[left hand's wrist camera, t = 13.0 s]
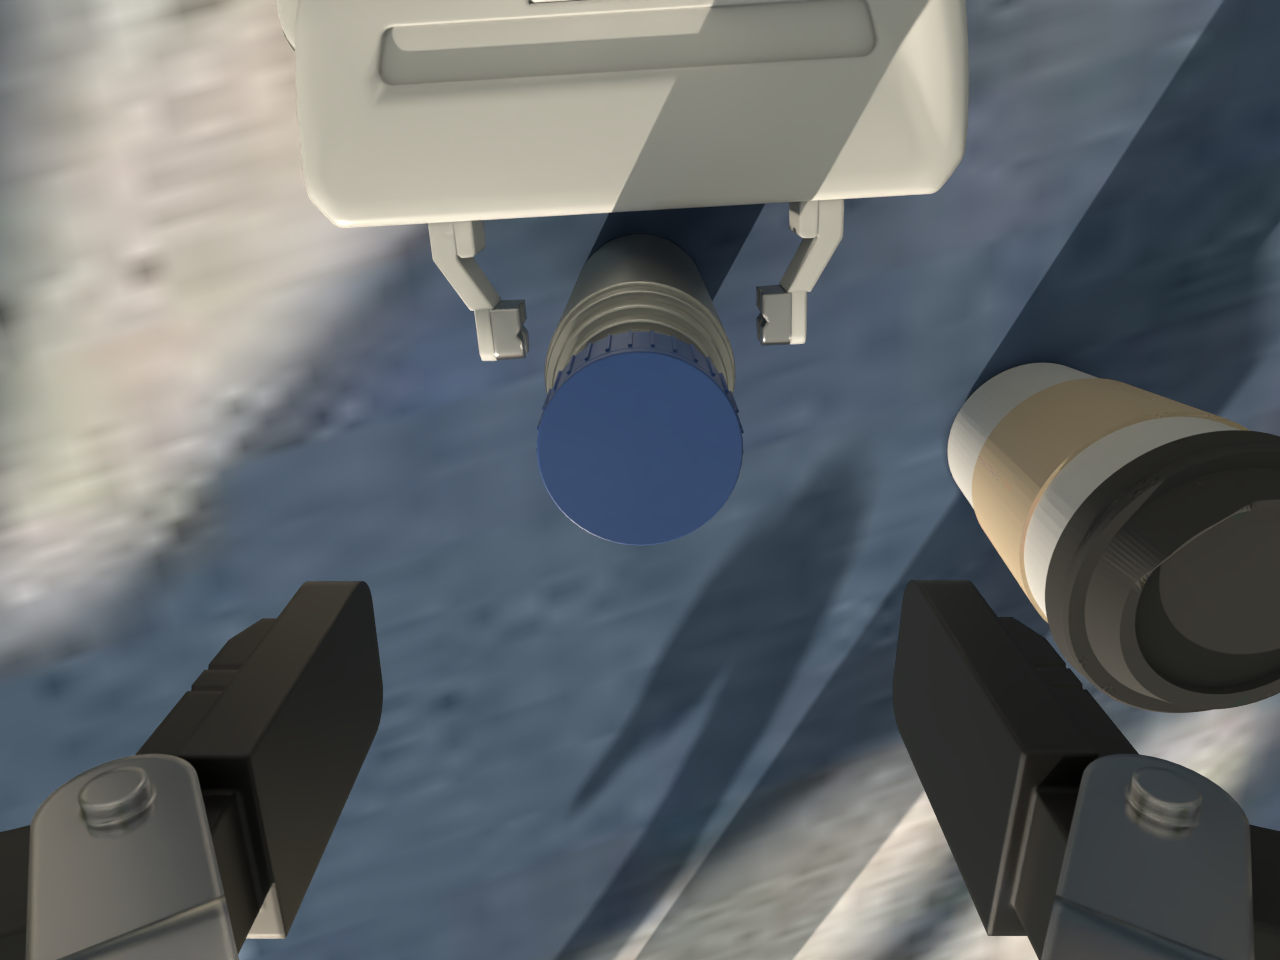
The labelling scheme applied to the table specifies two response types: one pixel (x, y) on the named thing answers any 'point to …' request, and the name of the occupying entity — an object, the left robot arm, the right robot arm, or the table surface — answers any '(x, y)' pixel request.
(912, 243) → the table surface
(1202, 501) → the coffee cup
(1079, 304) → the table surface
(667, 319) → the bottle
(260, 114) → the table surface
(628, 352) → the cap
